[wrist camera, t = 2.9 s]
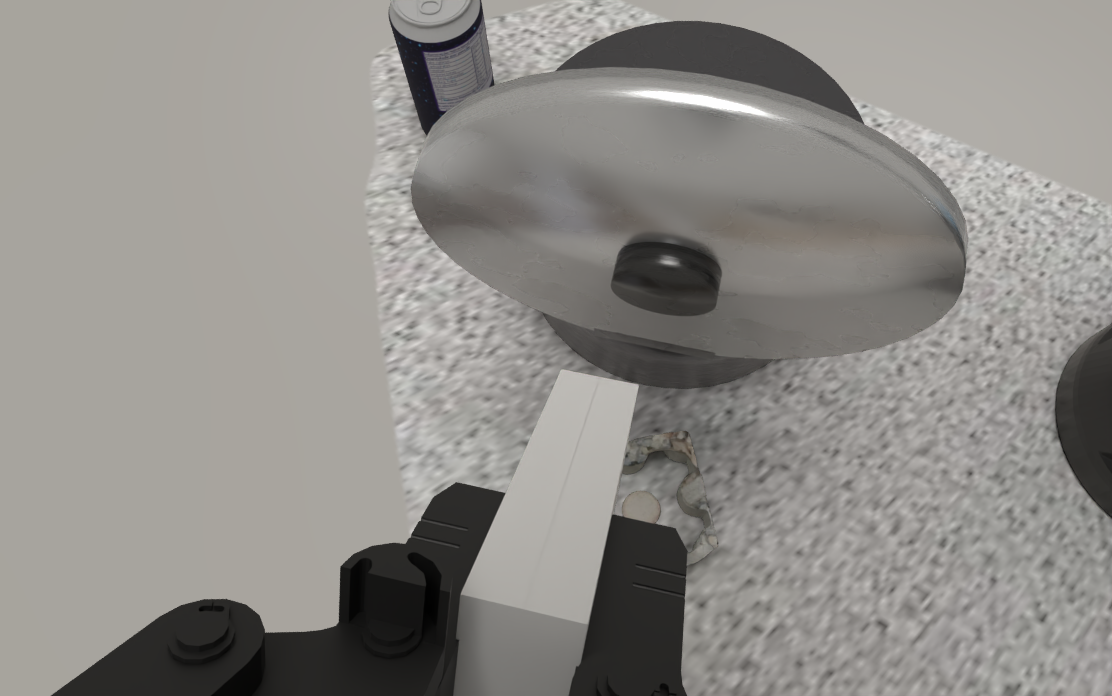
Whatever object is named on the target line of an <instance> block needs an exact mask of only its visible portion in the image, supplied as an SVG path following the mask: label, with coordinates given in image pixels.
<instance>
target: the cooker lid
mask: <svg viewBox="0 0 1112 696" xmlns="http://www.w3.org/2000/svg"><path fill="white" fill-rule="evenodd" d="M411 195H412V204H413V206H414V209H415V212H416V215H417V218H418V219H419V221H420V223H421V224H422V226H423V228H424V229H425V231H426V233H427V234H428V235H429V236H430V237H431V239H432V240H433V241H434V242H435V243H436V244H437V246H438V247H439V248H440V249H441V250H442V251H443V252H445V253H446V254H447V255H448V256H449V257H450V258H451V259H452V260H453V261H454V262H456V263H457V264H458V265H460V266H461V267H462V268H464V269H465V270H466V271H468V272H469V273H470V274H472V275H473V276H475V277H476V278H478V279H479V280H481V281H482V282H484V283H486V284H487V285H489V286H490V287H492V288H494V289H496V290H498V291H499V292H501V293H503V294H505V295H507V296H508V297H510V298H512V299H515V300H517V301H519V302H521V303H523V304H525V305H527V306H529V307H531V308H534V309H536V310H538V311H541V312H543V313H546V314H548V315H550V316H553V317H555V318H558V319H561V320H564V321H566V322H569V323H572V324H575V325H577V326H581V327H584V328H587V329H590V330H593V331H594V336H598V337H603V338H608V339H613V340H618V341H623V342H627V343H632V344H637V345H642V346H647V347H652V348H657V349H662V350H666V351H671V352H676V353H681V354H686V355H691V356H696V357H701V358H705V359H710V360H713V358H714V355H716V356H725V357H738V358H755V359H799V358H817V357H828V356H838V355H844V354H850V353H856V352H862V351H866V350H870V349H875V348H879V347H883V346H886V345H889V344H892V343H895V342H898V341H901V340H904V339H907V338H909V337H911V336H913V335H915V334H917V333H919V332H921V331H923V330H925V329H927V328H928V327H930V326H931V325H933V324H934V323H936V322H937V321H939V320H940V319H941V318H942V317H943V316H944V315H945V314H946V313H947V312H948V311H949V310H950V309H951V308H952V307H953V306H954V305H955V303H956V301H957V299H958V297H959V295H960V294H961V292H962V289H963V283H964V277H965V270H966V259H967V249H968V234H967V227H966V220H965V218H964V216H963V214H962V212H961V209H960V207H959V205H958V203H957V200H956V199H955V197H954V196H953V195H952V194H951V192H950V191H949V190H948V188H947V187H946V186H945V184H944V183H943V182H942V180H941V179H940V178H939V177H938V176H937V175H936V174H935V173H934V172H932V171H931V170H930V169H929V168H928V167H927V166H926V165H925V164H924V163H923V162H922V161H920V160H919V159H918V158H917V157H916V156H915V155H913V154H912V153H910V152H909V151H907V150H906V149H904V148H903V147H901V146H900V145H898V144H897V143H895V142H894V141H893V140H891V139H890V138H888V137H887V136H885V135H883V134H881V133H880V132H878V131H876V130H874V129H872V128H870V127H868V126H866V125H864V124H862V123H860V122H858V121H856V120H854V119H852V118H851V117H849V116H847V115H844V114H842V113H839V112H836V111H834V110H831V109H829V108H826V107H824V106H821V105H819V104H816V103H814V102H811V101H809V100H806V99H804V98H800V97H797V96H793V95H790V94H787V93H783V92H780V91H776V90H773V89H770V88H766V87H763V86H759V85H756V84H751V83H746V82H741V81H736V80H731V79H727V78H722V77H717V76H712V75H707V74H698V73H690V72H682V71H673V70H665V69H652V68H623V67H603V68H586V69H568V70H561V71H555V72H549V73H542V74H536V75H530V76H525V77H522V78H518V79H515V80H511V81H508V82H504V83H501V84H497V85H494V86H492V87H489V88H487V89H485V90H483V91H480V92H478V93H476V94H474V95H471V96H469V97H467V98H466V99H464V100H463V101H461V102H460V103H458V104H457V105H455V106H454V107H452V108H451V109H449V110H448V111H447V112H446V113H445V114H444V115H443V116H442V117H441V118H440V119H439V120H438V121H437V122H436V123H435V124H434V125H433V126H432V128H431V130H430V132H429V133H428V135H427V137H426V139H425V141H424V143H423V146H422V149H421V152H420V155H419V158H418V161H417V165H416V168H415V171H414V175H413V179H412V184H411Z"/></svg>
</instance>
